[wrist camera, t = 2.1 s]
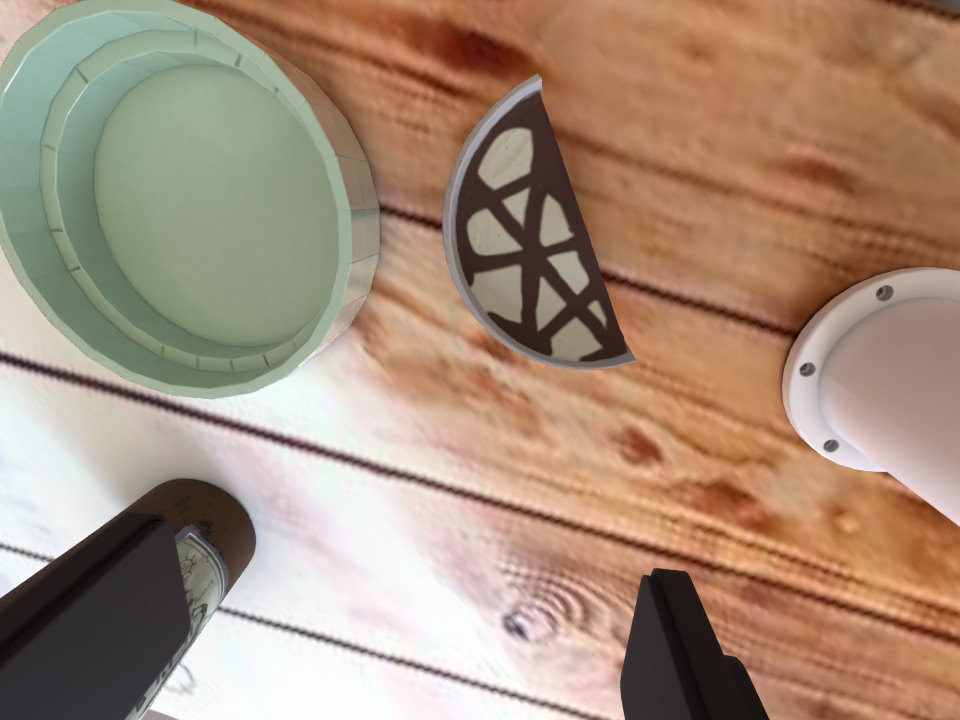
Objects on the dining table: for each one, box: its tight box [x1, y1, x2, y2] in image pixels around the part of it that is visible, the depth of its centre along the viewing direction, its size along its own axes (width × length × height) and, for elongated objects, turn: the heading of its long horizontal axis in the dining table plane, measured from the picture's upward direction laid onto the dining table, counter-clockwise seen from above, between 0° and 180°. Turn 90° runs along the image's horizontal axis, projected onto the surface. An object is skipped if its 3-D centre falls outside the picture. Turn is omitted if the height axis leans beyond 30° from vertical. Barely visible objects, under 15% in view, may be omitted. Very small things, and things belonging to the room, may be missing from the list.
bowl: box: [0, 0, 380, 399], centre depth 27 cm, size 19×19×6 cm
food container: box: [442, 74, 637, 370], centre depth 23 cm, size 12×6×10 cm, turn 22°
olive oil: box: [0, 479, 256, 720], centre depth 25 cm, size 11×11×25 cm
